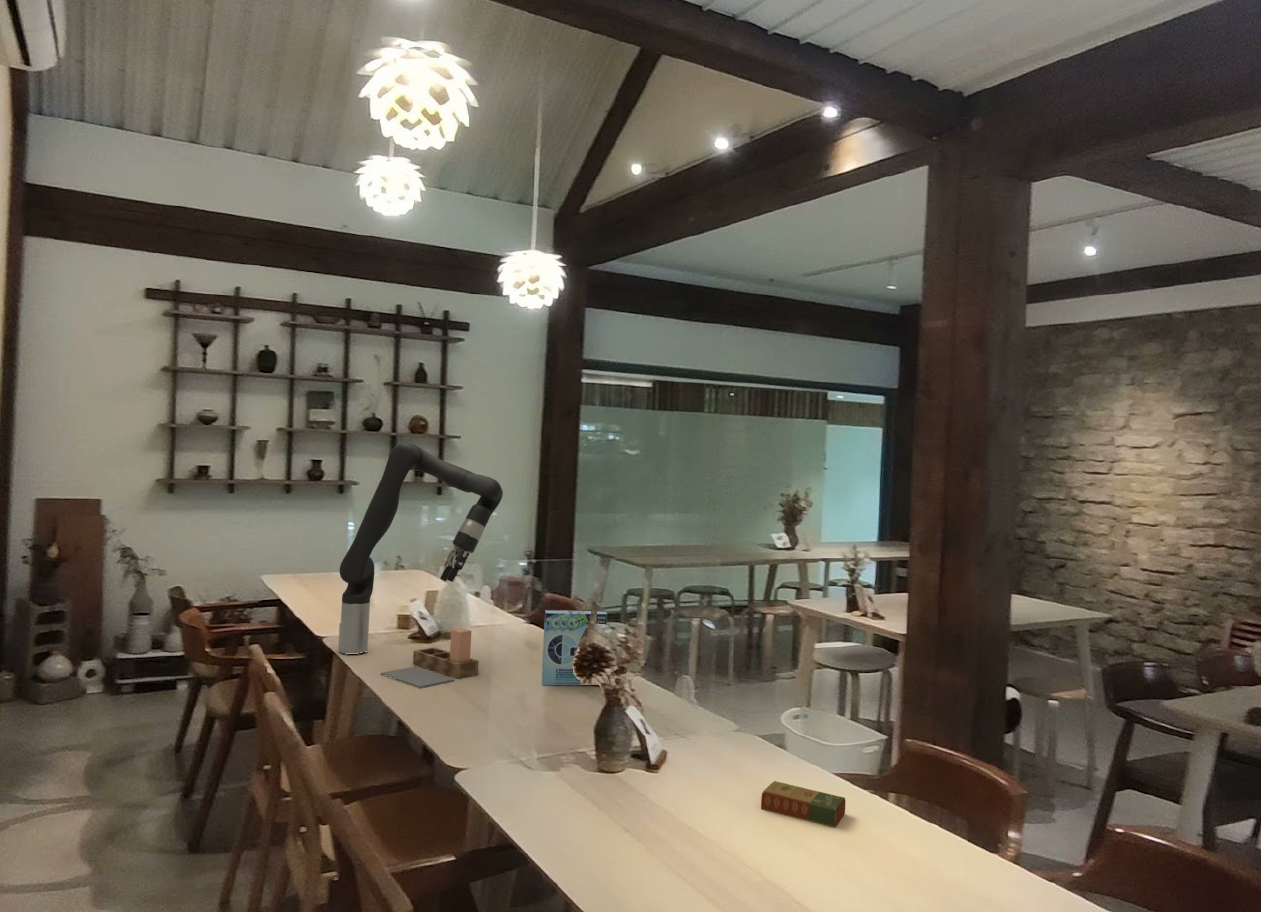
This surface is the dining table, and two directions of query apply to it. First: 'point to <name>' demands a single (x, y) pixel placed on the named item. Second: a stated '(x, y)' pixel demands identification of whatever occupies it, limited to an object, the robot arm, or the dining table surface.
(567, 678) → the gum box
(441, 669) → the stand
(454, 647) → the block
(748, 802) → the dining table surface
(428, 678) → the mat
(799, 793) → the carton
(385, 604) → the dining table surface
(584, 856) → the dining table surface
